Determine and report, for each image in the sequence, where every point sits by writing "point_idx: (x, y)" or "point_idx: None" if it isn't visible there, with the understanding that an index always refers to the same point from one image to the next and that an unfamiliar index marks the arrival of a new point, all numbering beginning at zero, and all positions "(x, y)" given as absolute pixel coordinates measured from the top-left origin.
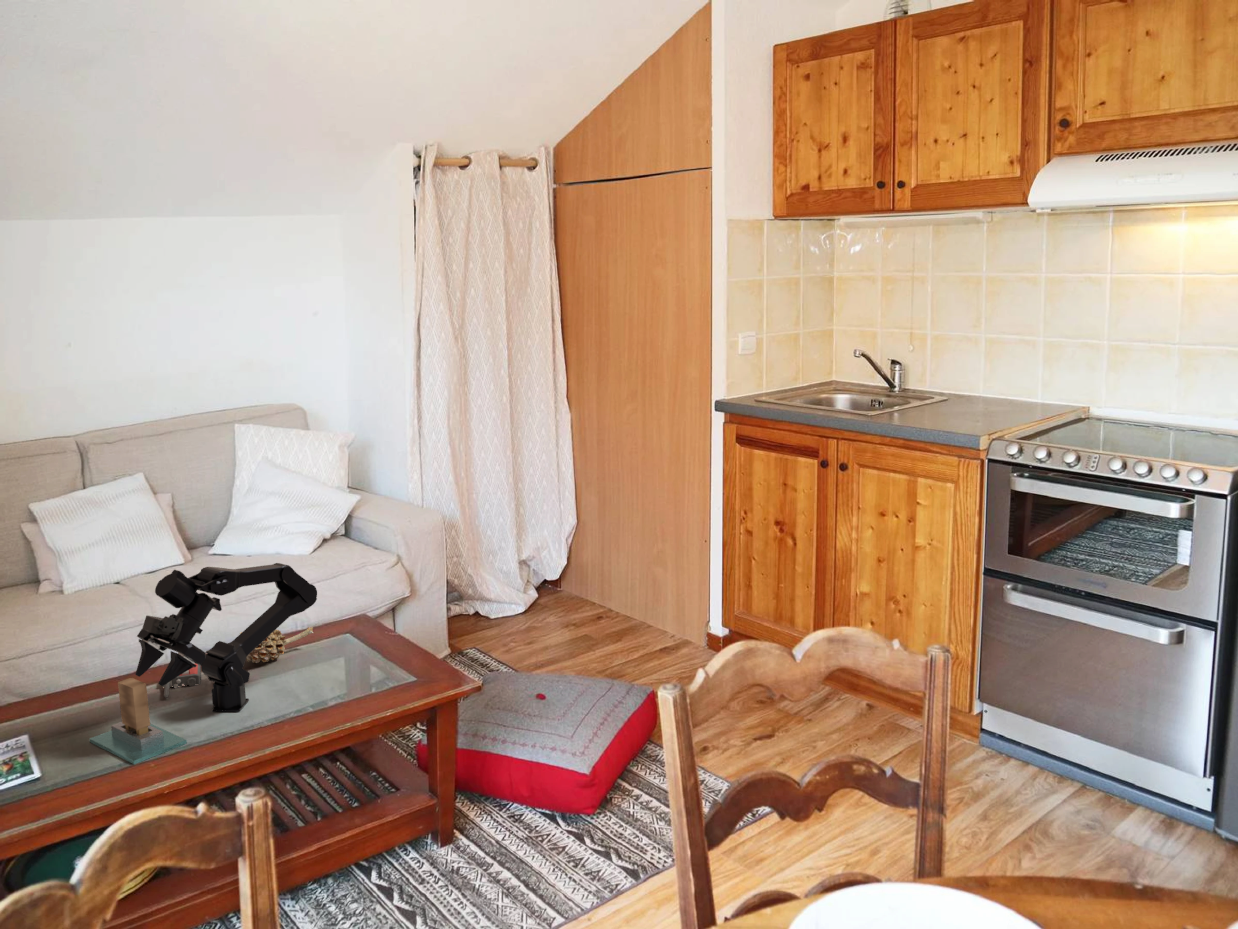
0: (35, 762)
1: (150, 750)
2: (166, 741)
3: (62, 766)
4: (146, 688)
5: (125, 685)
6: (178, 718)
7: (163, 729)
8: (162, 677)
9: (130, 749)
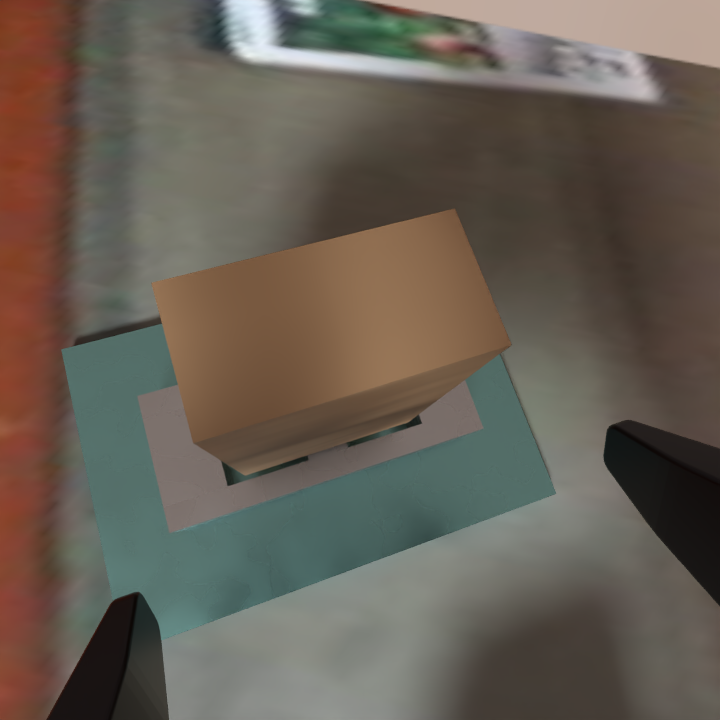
0: (376, 68)
1: (126, 445)
2: (181, 545)
3: (272, 128)
4: (205, 448)
5: (305, 245)
6: (507, 682)
7: (358, 566)
8: (90, 679)
9: None
